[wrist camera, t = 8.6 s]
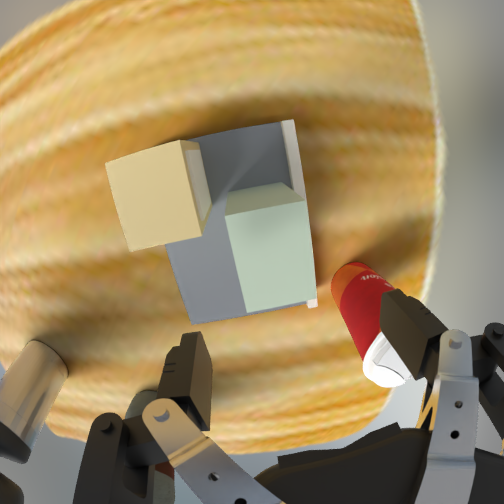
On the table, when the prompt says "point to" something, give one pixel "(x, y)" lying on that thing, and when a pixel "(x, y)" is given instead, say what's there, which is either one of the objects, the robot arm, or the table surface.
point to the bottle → (163, 471)
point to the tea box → (271, 245)
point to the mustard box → (160, 194)
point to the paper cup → (368, 322)
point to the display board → (215, 232)
